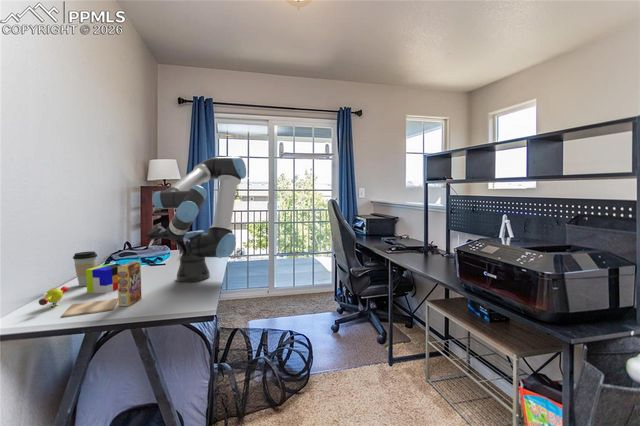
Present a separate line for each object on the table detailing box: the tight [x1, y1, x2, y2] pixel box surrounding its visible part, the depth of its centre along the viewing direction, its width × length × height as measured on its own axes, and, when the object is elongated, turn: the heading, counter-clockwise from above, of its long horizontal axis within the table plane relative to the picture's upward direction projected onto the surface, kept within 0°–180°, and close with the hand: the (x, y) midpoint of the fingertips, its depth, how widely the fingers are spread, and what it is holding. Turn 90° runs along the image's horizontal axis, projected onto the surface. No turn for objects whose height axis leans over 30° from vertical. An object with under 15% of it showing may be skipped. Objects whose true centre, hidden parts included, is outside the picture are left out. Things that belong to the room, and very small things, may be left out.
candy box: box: [117, 260, 143, 307], centre depth 125 cm, size 9×4×15 cm, turn 0°
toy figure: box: [38, 286, 69, 308], centre depth 122 cm, size 18×6×7 cm, turn 16°
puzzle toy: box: [86, 264, 121, 294], centre depth 144 cm, size 10×10×10 cm
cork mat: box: [61, 297, 118, 318], centre depth 120 cm, size 15×13×1 cm
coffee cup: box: [72, 250, 98, 287], centre depth 152 cm, size 9×9×15 cm
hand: (164, 251), depth 150 cm, fingers open, 13 cm apart
